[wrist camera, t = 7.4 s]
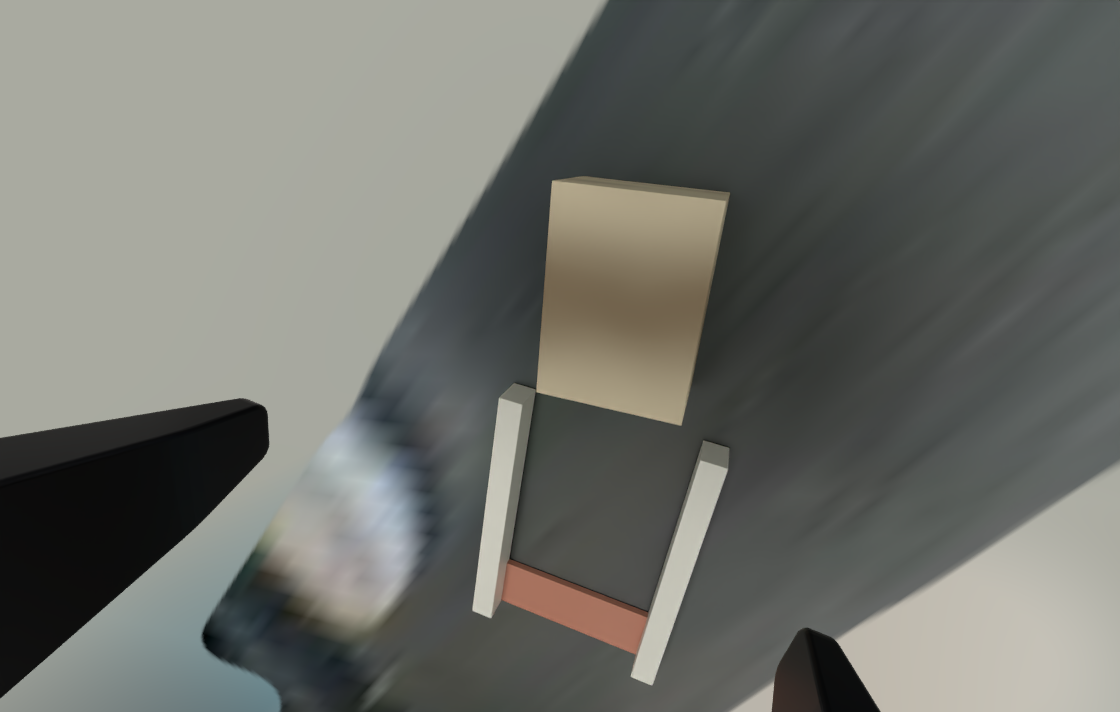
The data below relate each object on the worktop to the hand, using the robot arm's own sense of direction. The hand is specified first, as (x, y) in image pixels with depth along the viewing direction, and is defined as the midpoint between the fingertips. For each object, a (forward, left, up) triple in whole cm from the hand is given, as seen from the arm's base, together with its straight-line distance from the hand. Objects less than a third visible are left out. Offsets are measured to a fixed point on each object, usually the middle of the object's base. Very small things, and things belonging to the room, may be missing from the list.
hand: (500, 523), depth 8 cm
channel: (-11, 0, -13) cm, 16 cm away
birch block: (+1, 0, -13) cm, 13 cm away
